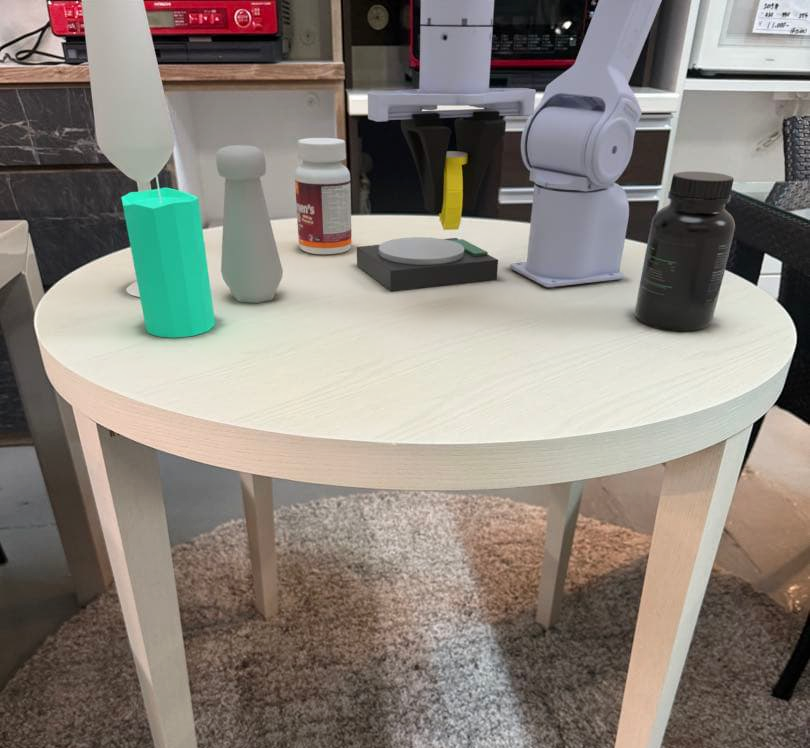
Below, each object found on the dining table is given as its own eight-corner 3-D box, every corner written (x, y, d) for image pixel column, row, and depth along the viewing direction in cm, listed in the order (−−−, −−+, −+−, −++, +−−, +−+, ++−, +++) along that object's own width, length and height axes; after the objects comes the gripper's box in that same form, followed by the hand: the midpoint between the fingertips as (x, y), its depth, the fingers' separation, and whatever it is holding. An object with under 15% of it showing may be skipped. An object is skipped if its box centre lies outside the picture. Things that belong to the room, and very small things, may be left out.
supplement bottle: (687, 306, 72) (718, 168, 66) (726, 329, 67) (764, 182, 60) (621, 309, 71) (645, 169, 64) (655, 334, 66) (686, 184, 59)
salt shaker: (272, 308, 70) (258, 152, 63) (214, 303, 71) (194, 150, 64) (292, 289, 75) (281, 143, 68) (238, 285, 76) (221, 140, 69)
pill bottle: (289, 247, 89) (281, 139, 82) (333, 240, 92) (329, 135, 86) (317, 258, 85) (311, 145, 78) (362, 250, 88) (360, 141, 82)
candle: (152, 315, 68) (125, 169, 62) (219, 314, 69) (200, 169, 62) (138, 338, 63) (108, 182, 57) (211, 337, 64) (189, 182, 57)
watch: (430, 219, 71) (431, 148, 67) (459, 219, 71) (462, 148, 67) (437, 234, 66) (439, 158, 62) (469, 234, 66) (472, 158, 63)
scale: (455, 255, 87) (456, 232, 85) (496, 279, 79) (498, 253, 78) (356, 265, 83) (356, 240, 81) (390, 291, 75) (390, 264, 74)
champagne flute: (182, 274, 79) (139, -9, 65) (205, 291, 74) (165, -10, 61) (117, 284, 76) (58, -11, 62) (138, 302, 71) (78, -13, 58)
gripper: (390, 26, 54) (391, 226, 62) (562, 27, 59) (542, 213, 67) (356, 25, 60) (361, 209, 67) (516, 25, 64) (503, 198, 72)
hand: (449, 210), depth 67 cm, fingers closed on watch, 2 cm apart
